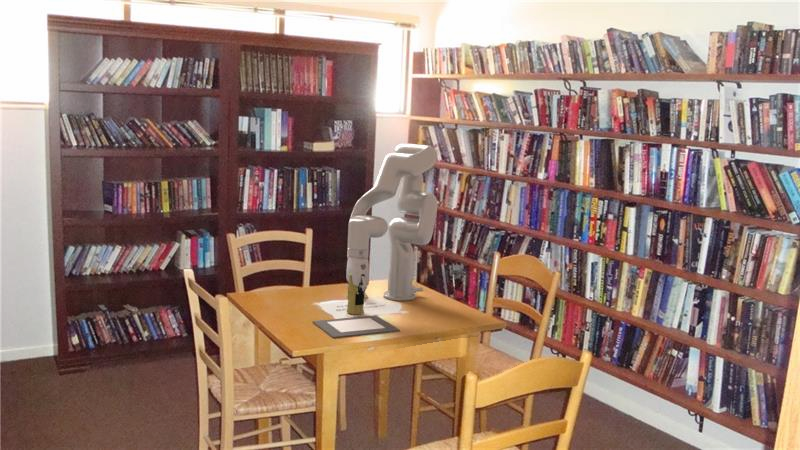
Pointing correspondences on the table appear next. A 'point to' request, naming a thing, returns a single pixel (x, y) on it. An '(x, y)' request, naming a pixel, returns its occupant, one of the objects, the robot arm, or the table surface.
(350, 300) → the vase
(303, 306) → the table surface
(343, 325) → the grey picture frame
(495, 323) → the table surface
